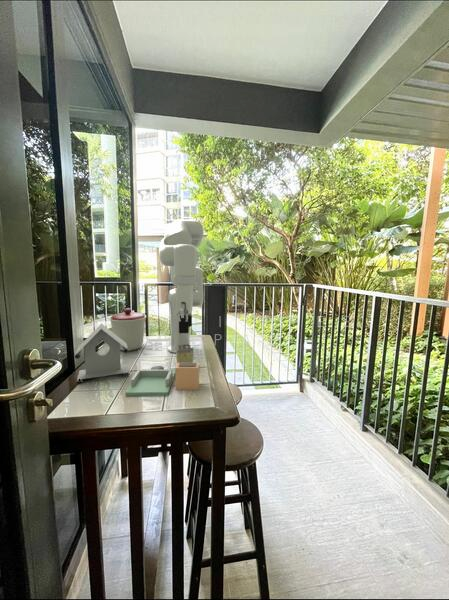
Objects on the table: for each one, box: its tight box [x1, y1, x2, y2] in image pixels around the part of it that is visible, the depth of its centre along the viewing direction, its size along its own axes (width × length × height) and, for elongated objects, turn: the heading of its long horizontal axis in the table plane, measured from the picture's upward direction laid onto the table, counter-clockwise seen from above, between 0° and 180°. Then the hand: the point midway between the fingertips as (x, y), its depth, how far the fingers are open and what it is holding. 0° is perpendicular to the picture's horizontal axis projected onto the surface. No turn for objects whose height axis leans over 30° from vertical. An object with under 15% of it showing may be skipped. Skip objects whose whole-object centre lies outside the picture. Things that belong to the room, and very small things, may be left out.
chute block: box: [174, 362, 200, 391], centre depth 98 cm, size 5×8×8 cm, turn 92°
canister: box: [108, 307, 147, 352], centre depth 140 cm, size 18×18×21 cm
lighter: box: [176, 344, 194, 364], centre depth 115 cm, size 7×4×10 cm, turn 110°
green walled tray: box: [125, 365, 175, 397], centre depth 101 cm, size 20×14×4 cm
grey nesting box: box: [74, 323, 130, 382], centre depth 106 cm, size 18×10×20 cm, turn 114°
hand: (185, 329), depth 96 cm, fingers open, 9 cm apart
